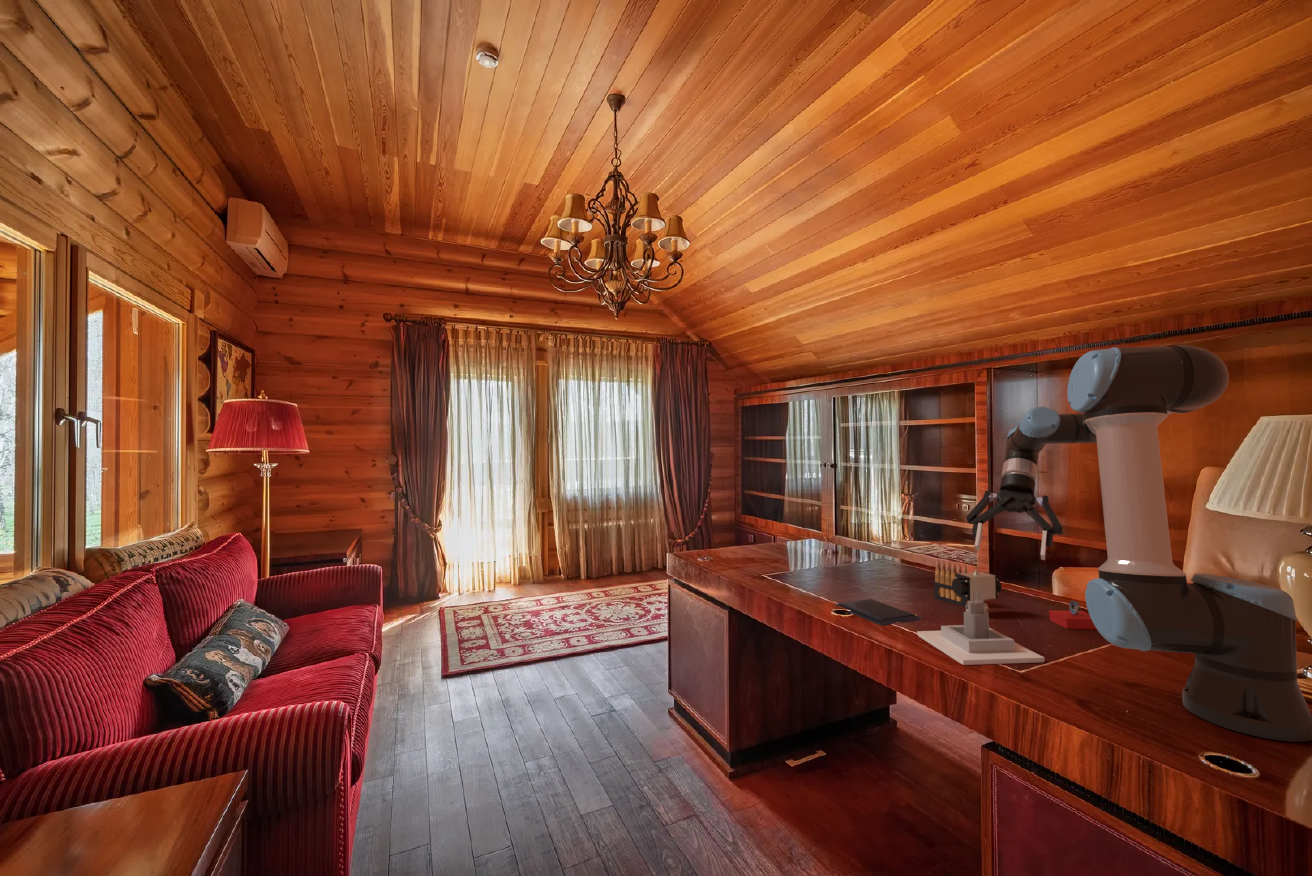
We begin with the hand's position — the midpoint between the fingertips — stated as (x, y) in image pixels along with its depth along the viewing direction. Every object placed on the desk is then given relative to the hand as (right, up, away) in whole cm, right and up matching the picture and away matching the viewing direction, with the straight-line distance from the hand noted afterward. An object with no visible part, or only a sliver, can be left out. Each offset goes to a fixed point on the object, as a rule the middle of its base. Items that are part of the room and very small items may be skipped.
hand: (1008, 552), depth 132 cm
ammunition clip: (+1, -21, +27) cm, 34 cm away
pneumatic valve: (+1, -21, +16) cm, 26 cm away
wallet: (-25, -22, +18) cm, 38 cm away
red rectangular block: (+21, -20, +6) cm, 30 cm away
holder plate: (-13, -20, -9) cm, 26 cm away
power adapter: (-13, -19, -9) cm, 25 cm away
